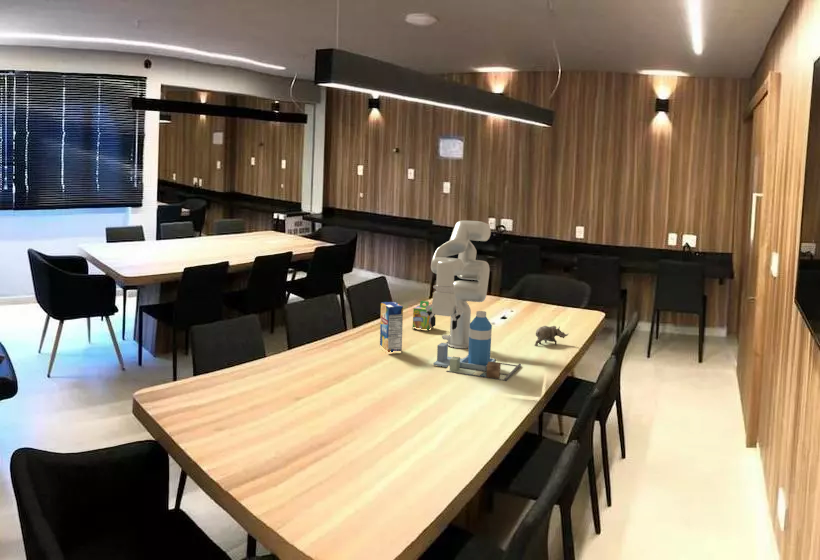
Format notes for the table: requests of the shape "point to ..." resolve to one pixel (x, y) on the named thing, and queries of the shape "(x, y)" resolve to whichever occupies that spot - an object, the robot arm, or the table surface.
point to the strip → (458, 366)
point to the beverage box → (391, 326)
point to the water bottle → (479, 340)
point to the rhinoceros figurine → (548, 334)
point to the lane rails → (492, 377)
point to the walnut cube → (493, 369)
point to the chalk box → (421, 316)
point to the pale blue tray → (445, 360)
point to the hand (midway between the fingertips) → (443, 327)
